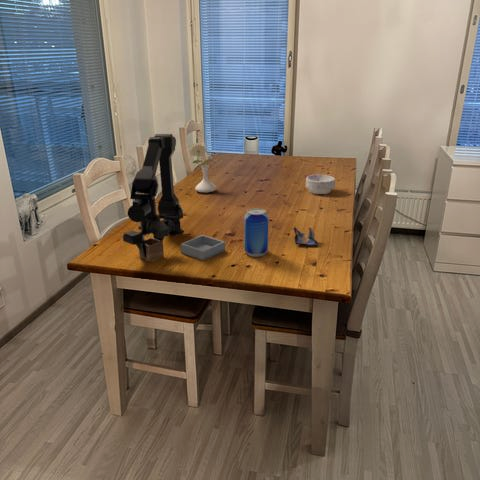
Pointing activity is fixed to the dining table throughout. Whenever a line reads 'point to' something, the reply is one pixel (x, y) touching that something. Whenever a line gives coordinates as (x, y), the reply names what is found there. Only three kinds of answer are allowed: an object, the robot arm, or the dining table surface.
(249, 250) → the beer can
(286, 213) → the dining table surface
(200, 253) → the grey crate
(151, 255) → the walnut crate
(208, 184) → the flower in vase
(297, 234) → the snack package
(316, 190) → the paper bowls
